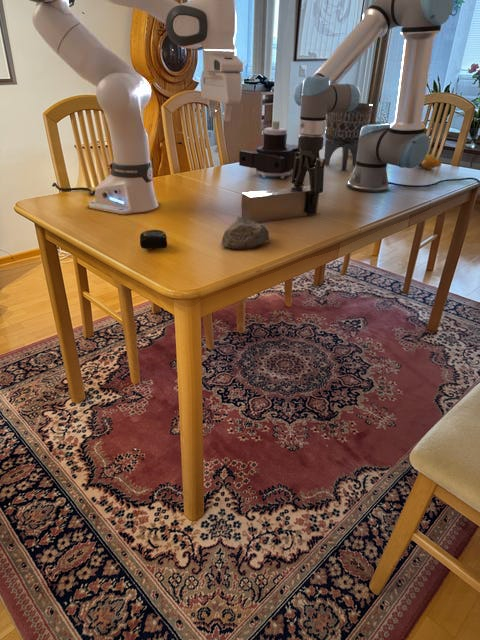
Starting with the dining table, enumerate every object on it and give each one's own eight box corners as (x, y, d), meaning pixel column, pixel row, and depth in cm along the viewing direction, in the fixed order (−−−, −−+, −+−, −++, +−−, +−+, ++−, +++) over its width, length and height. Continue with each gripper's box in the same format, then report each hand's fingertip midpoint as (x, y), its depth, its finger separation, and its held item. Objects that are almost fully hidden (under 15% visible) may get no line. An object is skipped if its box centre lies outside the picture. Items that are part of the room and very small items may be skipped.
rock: (255, 233, 128) (256, 211, 124) (276, 242, 122) (278, 219, 119) (217, 244, 120) (217, 220, 117) (239, 254, 115) (239, 230, 111)
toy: (415, 162, 205) (409, 155, 218) (417, 175, 208) (411, 168, 221) (441, 154, 202) (433, 147, 215) (443, 168, 205) (435, 160, 218)
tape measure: (140, 252, 115) (139, 238, 113) (141, 242, 120) (140, 229, 119) (167, 251, 116) (166, 237, 114) (167, 241, 121) (166, 228, 120)
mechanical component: (240, 120, 182) (283, 115, 202) (239, 174, 192) (280, 164, 212) (283, 126, 170) (325, 120, 190) (280, 183, 180) (320, 171, 200)
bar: (307, 209, 151) (309, 185, 147) (317, 214, 146) (319, 189, 142) (241, 218, 141) (241, 192, 137) (249, 223, 137) (250, 197, 133)
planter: (313, 167, 208) (319, 103, 195) (331, 160, 222) (338, 101, 209) (353, 173, 199) (362, 107, 185) (369, 166, 213) (379, 104, 199)
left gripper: (194, 62, 129) (196, 115, 136) (224, 63, 113) (223, 123, 120) (215, 62, 131) (215, 114, 138) (246, 64, 115) (245, 123, 122)
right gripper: (283, 131, 142) (278, 203, 153) (320, 140, 126) (311, 220, 138) (303, 130, 145) (297, 201, 156) (342, 139, 129) (332, 218, 141)
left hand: (219, 119), depth 129 cm, fingers open, 8 cm apart
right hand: (304, 210), depth 147 cm, fingers open, 7 cm apart
